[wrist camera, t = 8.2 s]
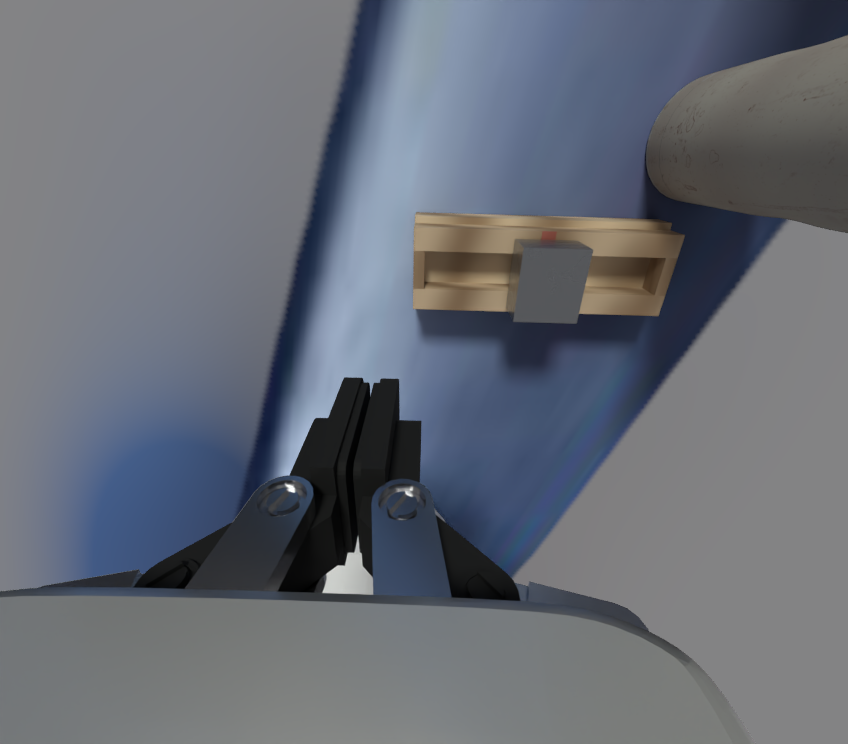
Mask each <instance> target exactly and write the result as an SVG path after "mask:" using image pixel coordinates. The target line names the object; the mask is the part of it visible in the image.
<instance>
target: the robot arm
mask: <svg viewBox="0 0 848 744" xmlns="http://www.w3.org/2000/svg"><path fill="white" fill-rule="evenodd" d="M420 455H421V421H404V420H399V379H381V380H380V383H374V385H373V389H372V393H371V397H370V385H369V383H363V378H344V379H343V382H342V384H341V387H340V389H339V392H338V394H337V397H336V400H335V402H334V405H333V407H332V410H331V412H330V415H329V418H316V419H315V420H314V421H313V423H312V426H311V428H310V430H309V432H308V435H307V437H306V439H305V441H304V444H303V446H302V448H301V451H300V453H299V455H298V457H297V460H296V462H295V464H294V466H293V469H292V471H291V473H290V476H282V477H277V478H275V479H272V480H270V481H268V482H266V483H265V484H263V485H261V486H260V487H259V488H258V489H257V490H256V491H255V492H254V493H253V495H252V496H251V498H250V499H249V500H248V502H247V503H246V505H245V506H244V507H243V509H242V510H241V511H240V513H239V514H238V516H237V517H236V518H235V520H234V521H233V522H232V523H230V524H228V525H226V526H225V527H223V528H221V529H219V530H217V531H215V532H214V533H212V534H210V535H208V536H206V537H205V538H203V539H201V540H199V541H197V542H195V543H194V544H192V545H190V546H188V547H186V548H184V549H183V550H181V551H179V552H177V553H175V554H174V555H172V556H170V557H168V558H166V559H164V560H163V561H161V562H159V563H158V564H156V565H155V566H153V567H152V568H150V569H149V570H148V571H147V572H146V573H145V574H141V573H140V571H139V570H132V571H127V572H121V573H115V574H109V575H103V576H98V577H92V578H86V579H80V580H74V581H69V582H63V583H57V584H51V585H45V586H42V587H39V588H29V589H19V590H10V591H0V744H756V743H755V742H754V740H753V738H752V737H751V735H750V734H749V732H748V730H747V729H746V727H745V726H744V724H743V722H742V721H741V720H740V718H739V716H738V715H737V713H736V712H735V710H734V709H733V707H732V706H731V704H730V703H729V701H728V700H727V699H726V697H725V696H724V695H723V693H722V692H721V691H720V689H719V688H718V687H717V685H716V684H715V683H714V681H713V680H712V679H711V678H710V677H709V676H708V675H707V673H706V672H705V671H704V670H703V669H702V668H701V667H700V666H699V665H698V664H697V663H696V662H695V661H694V660H692V659H691V658H690V657H689V656H688V655H686V654H685V653H684V652H682V651H681V650H679V649H678V648H677V647H675V646H674V645H672V644H670V643H669V642H667V641H665V640H664V639H662V638H660V637H658V636H656V635H654V634H652V633H651V632H649V631H648V629H647V627H646V626H645V625H644V623H643V622H642V621H641V620H640V618H639V617H638V616H636V615H635V614H634V613H632V612H631V611H630V610H628V609H627V608H625V607H622V606H620V605H618V604H615V603H612V602H608V601H604V600H599V599H596V598H592V597H588V596H584V595H580V594H576V593H572V592H568V591H564V590H560V589H556V588H552V587H548V586H544V585H541V584H537V583H533V582H529V584H528V586H525V585H521V584H517V583H514V581H513V580H512V579H511V578H510V577H509V575H508V574H507V573H506V572H505V571H503V570H502V569H501V568H500V567H498V566H497V565H496V564H495V563H494V562H492V561H491V560H490V559H489V558H488V557H486V556H485V555H484V554H483V553H482V552H480V551H479V550H478V549H477V548H476V547H474V546H473V545H472V544H471V543H469V542H468V541H467V540H466V539H465V538H463V537H462V536H461V535H460V534H459V533H457V532H456V531H455V530H454V529H453V528H451V527H450V526H449V525H448V524H447V523H445V522H444V521H443V520H442V519H440V518H439V517H438V516H437V515H436V514H435V509H434V504H433V499H432V496H431V494H430V491H429V490H428V489H427V488H426V487H425V486H424V485H422V484H421V483H419V482H420ZM357 538H359V549H360V553H362V564H363V567H364V568H365V569H366V571H367V572H368V573H369V574H370V575H371V576H372V577H373V595H368V594H338V593H322V592H323V590H324V587H325V584H326V579H327V576H326V574H327V573H328V572H329V571H331V570H332V569H334V568H335V567H336V566H338V565H340V566H345V563H346V559H347V554H348V553H354V552H355V548H356V544H357Z"/></svg>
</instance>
